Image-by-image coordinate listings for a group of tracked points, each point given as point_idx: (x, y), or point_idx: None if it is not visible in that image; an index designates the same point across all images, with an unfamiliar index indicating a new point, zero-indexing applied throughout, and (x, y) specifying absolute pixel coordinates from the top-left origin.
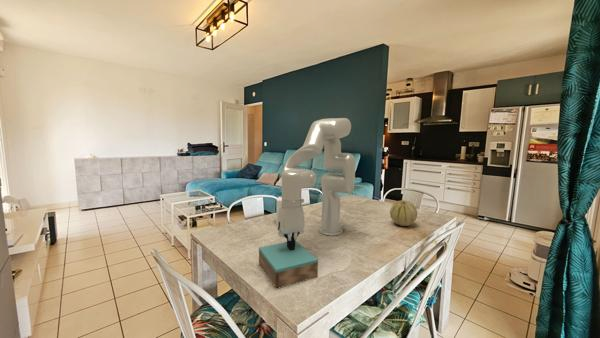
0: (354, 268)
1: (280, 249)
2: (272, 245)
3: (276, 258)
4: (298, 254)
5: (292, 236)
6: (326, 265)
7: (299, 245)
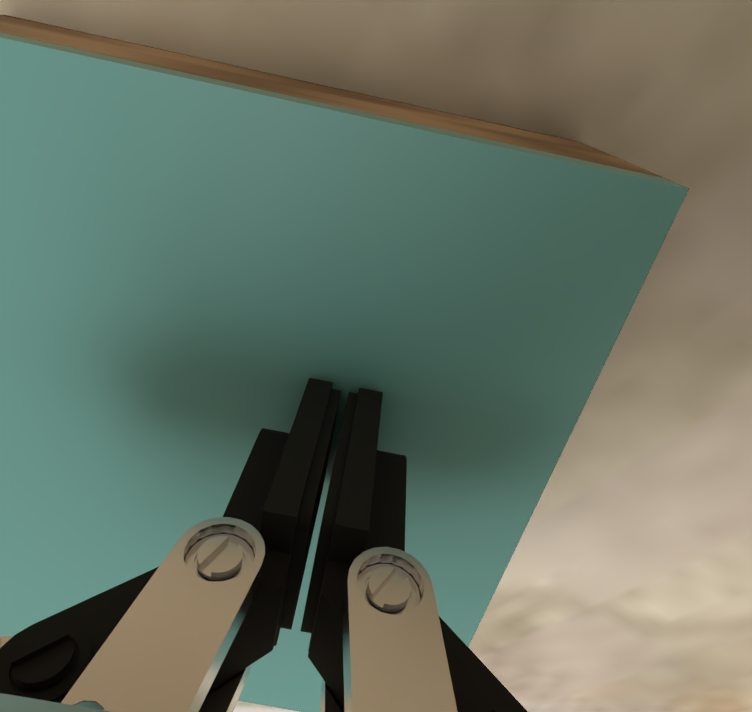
0: (739, 653)
1: (164, 349)
2: (68, 92)
3: (13, 516)
4: None
5: (338, 644)
6: (628, 522)
7: (544, 426)
